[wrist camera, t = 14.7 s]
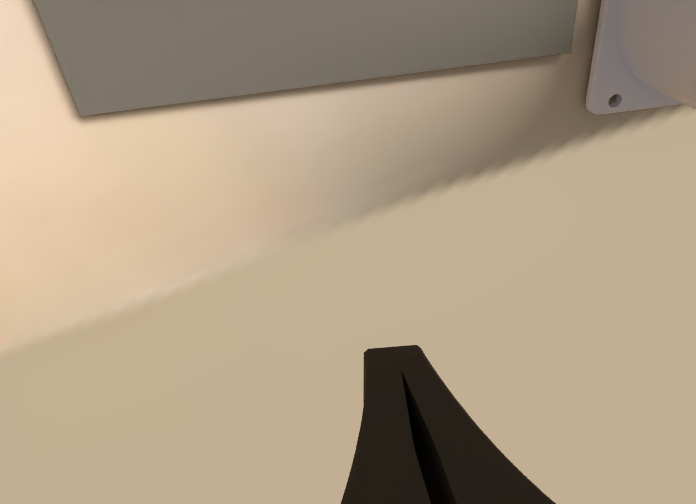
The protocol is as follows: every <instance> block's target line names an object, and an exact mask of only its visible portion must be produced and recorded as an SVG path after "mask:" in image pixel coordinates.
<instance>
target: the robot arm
mask: <svg viewBox="0 0 696 504" xmlns="http://www.w3.org/2000/svg"><path fill="white" fill-rule="evenodd" d="M615 94H617V98H616V100H615V101H614V102H613V103H612V104H609V99H610V98H611V97H612V96H613V95H615ZM678 104H686V105H688V106H690V107H692V108H694V109H696V0H602V1H601V7H600V14H599V20H598V26H597V33H596V39H595V45H594V52H593V58H592V64H591V70H590V77H589V83H588V89H587V96H586V108H587V109H588V110H589V111H590V112H592V113H594V114H596V115H602V114H609V113H617V112H625V111H632V110H640V109H648V108H655V107H663V106H671V105H678ZM341 504H556V503H554V502H553V501H552V500H551V499H549V497H547V496H546V495H545V494H544V493H543V492H541V490H540V489H539V488H537V487H536V486H535V485H534V484H533V483H532V482H531V481H530V480H529V479H527V477H526V476H524V475H523V474H522V473H521V472H520V471H519V470H518V469H517V468H516V467H515V466H514V465H513V464H512V463H511V462H510V461H509V460H508V459H507V458H506V457H505V456H504V454H503V453H502V452H501V451H500V450H499V449H498V448H497V447H496V446H495V445H494V444H493V443H492V442H491V440H490V439H489V438H488V437H487V436H486V435H485V434H484V433H483V431H482V430H481V429H480V428H479V427H478V426H477V425H476V423H475V422H474V421H473V420H472V419H471V417H470V416H469V415H468V414H467V412H466V411H465V410H464V409H463V407H462V406H461V405H460V404H459V402H458V401H457V400H456V399H455V397H454V396H453V395H452V393H451V392H450V391H449V389H448V388H447V387H446V385H445V384H444V382H443V381H442V380H441V378H440V377H439V376H438V374H437V373H436V371H435V370H434V368H433V367H432V365H431V364H430V362H429V361H428V359H427V358H426V356H425V355H424V353H423V351H422V349H421V348H420V347H419V346H417V345H411V346H398V347H387V348H374V349H368V350H367V351H365V352H364V408H363V415H362V422H361V427H360V432H359V437H358V442H357V446H356V452H355V455H354V459H353V464H352V468H351V471H350V475H349V478H348V482H347V485H346V489H345V492H344V495H343V498H342V501H341Z"/></svg>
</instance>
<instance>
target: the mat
mask: <svg viewBox="0 0 696 504" xmlns="http://www.w3.org/2000/svg"><path fill="white" fill-rule="evenodd" d="M33 1H34V4H35V6H36V8H37V11H38V13H39V16H40V18H41V21H42V23H43V26H44V28H45V31H46V33H47V35H48V38H49V40H50V43H51V45H52V48H53V50H54V53H55V55H56V58H57V60H58V62H59V65H60V67H61V70H62V72H63V75H64V77H65V80H66V82H67V84H68V87H69V89H70V92H71V94H72V97H73V99H74V102H75V104H76V107H77V109H78V111H79V114H80V116H86V115H94V114H101V113H109V112H117V111H125V110H132V109H140V108H148V107H155V106H163V105H171V104H179V103H186V102H194V101H202V100H210V99H217V98H225V97H233V96H241V95H248V94H256V93H264V92H272V91H279V90H287V89H295V88H303V87H310V86H318V85H326V84H334V83H341V82H349V81H357V80H365V79H372V78H380V77H388V76H396V75H403V74H411V73H419V72H427V71H434V70H442V69H450V68H457V67H465V66H473V65H481V64H488V63H496V62H504V61H512V60H519V59H527V58H535V57H543V56H550V55H558V54H566V53H571V45H572V38H573V30H574V23H575V15H576V8H577V1H578V0H33Z"/></svg>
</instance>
